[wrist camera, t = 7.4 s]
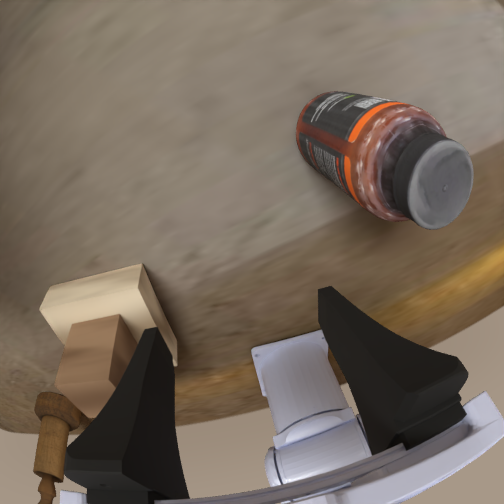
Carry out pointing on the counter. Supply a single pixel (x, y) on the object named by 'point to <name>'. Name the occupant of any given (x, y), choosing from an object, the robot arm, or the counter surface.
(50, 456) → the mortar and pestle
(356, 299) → the counter surface
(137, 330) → the birch base block
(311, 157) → the supplement bottle
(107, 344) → the walnut block
